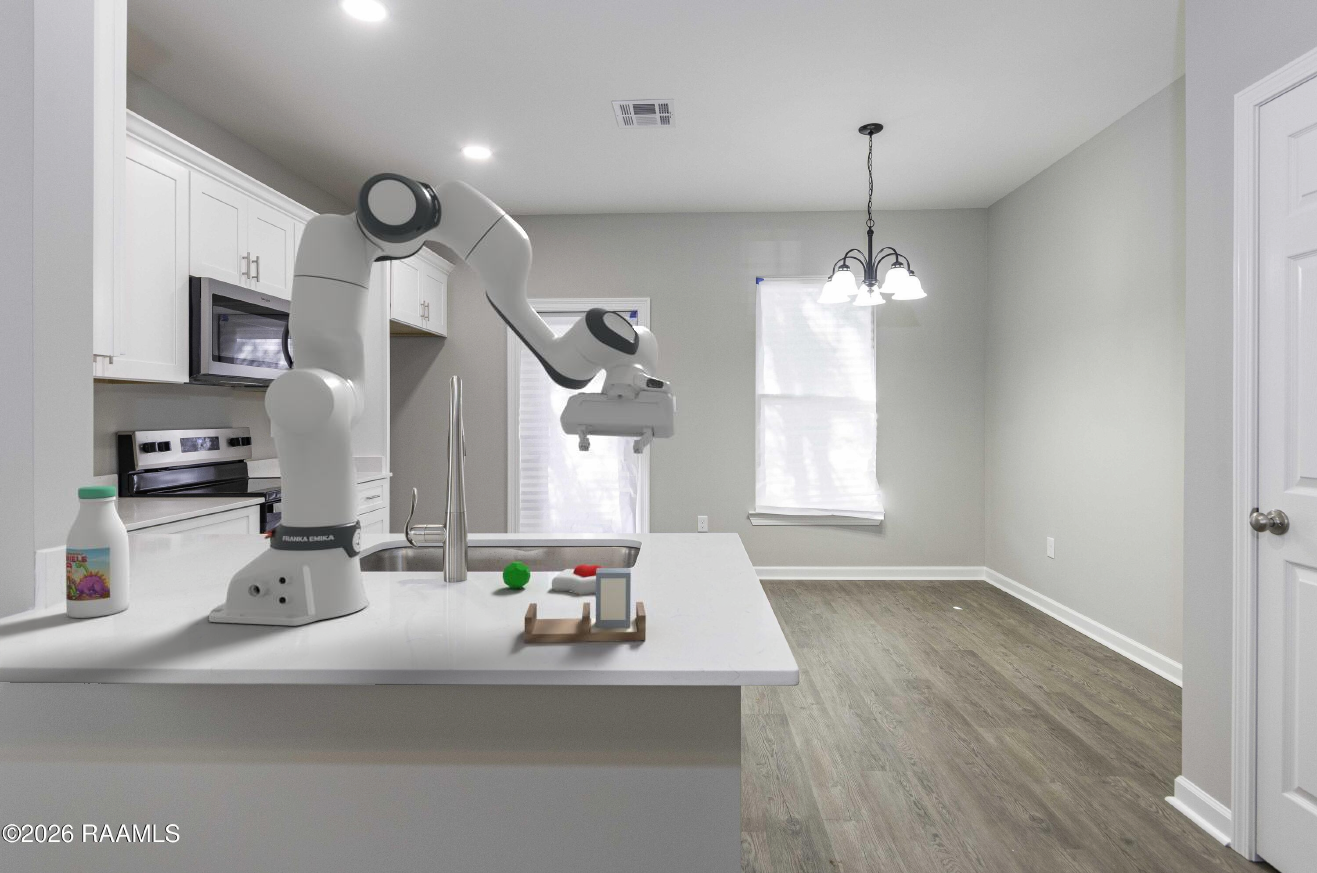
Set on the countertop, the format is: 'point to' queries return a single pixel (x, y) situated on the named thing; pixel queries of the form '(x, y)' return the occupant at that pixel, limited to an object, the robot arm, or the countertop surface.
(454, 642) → the countertop surface
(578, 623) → the wooden rack
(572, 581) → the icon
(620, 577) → the frame
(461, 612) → the countertop surface
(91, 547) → the milk bottle
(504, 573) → the polyhedron
